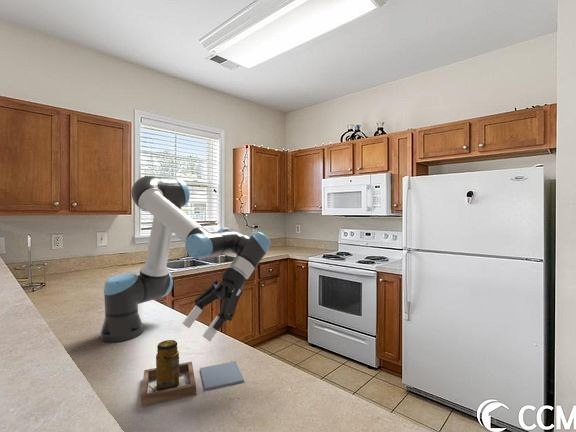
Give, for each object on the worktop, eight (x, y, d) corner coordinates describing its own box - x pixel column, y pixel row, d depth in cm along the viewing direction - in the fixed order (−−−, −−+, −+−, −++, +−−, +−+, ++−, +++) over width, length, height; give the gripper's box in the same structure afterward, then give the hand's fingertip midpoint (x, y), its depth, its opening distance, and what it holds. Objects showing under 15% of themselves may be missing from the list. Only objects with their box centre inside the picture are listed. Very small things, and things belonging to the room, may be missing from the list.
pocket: (144, 378, 93) (144, 370, 93) (192, 369, 97) (191, 361, 97) (140, 407, 79) (140, 397, 79) (196, 394, 84) (196, 385, 84)
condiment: (174, 376, 94) (173, 336, 94) (188, 386, 88) (187, 344, 88) (149, 386, 89) (148, 344, 88) (163, 398, 83) (162, 353, 82)
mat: (200, 369, 97) (200, 367, 97) (235, 363, 101) (235, 361, 101) (204, 390, 86) (204, 388, 86) (244, 381, 90) (244, 379, 90)
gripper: (267, 286, 95) (225, 351, 85) (225, 274, 113) (186, 327, 104) (253, 271, 91) (206, 338, 81) (211, 262, 110) (169, 315, 100)
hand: (195, 332), depth 93 cm, fingers open, 13 cm apart
